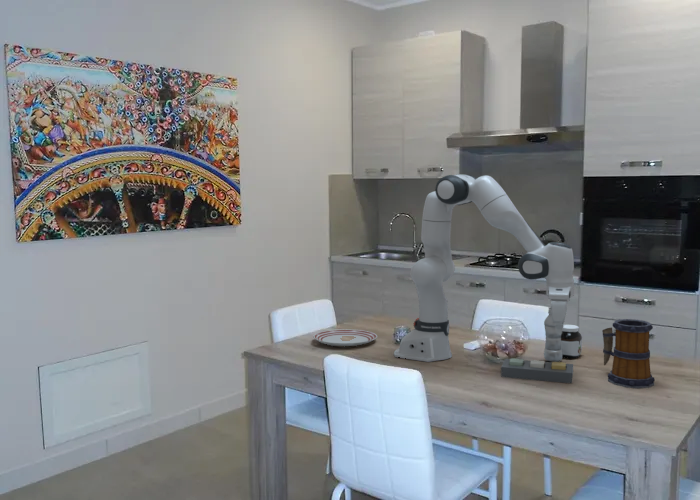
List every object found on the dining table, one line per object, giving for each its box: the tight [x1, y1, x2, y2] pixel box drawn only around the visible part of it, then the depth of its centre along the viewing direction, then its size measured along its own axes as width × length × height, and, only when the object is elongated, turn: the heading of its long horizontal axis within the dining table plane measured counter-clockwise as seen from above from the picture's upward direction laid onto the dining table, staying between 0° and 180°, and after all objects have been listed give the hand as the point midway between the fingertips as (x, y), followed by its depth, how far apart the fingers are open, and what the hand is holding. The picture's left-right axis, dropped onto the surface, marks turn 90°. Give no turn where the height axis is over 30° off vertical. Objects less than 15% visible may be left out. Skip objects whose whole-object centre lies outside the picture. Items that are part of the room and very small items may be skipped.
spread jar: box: [561, 324, 583, 360], centre depth 242 cm, size 12×11×12 cm
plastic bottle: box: [543, 307, 563, 362], centre depth 233 cm, size 6×7×20 cm
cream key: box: [530, 359, 546, 368], centre depth 217 cm, size 4×4×2 cm
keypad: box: [500, 358, 574, 384], centre depth 217 cm, size 23×11×4 cm, turn 69°
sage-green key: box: [509, 357, 525, 366], centre depth 219 cm, size 4×4×2 cm
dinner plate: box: [312, 328, 378, 348], centre depth 268 cm, size 28×27×3 cm
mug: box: [602, 318, 655, 390], centre depth 210 cm, size 19×14×20 cm
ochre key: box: [552, 361, 567, 370], centre depth 214 cm, size 4×4×2 cm
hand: (560, 330), depth 213 cm, fingers open, 8 cm apart
